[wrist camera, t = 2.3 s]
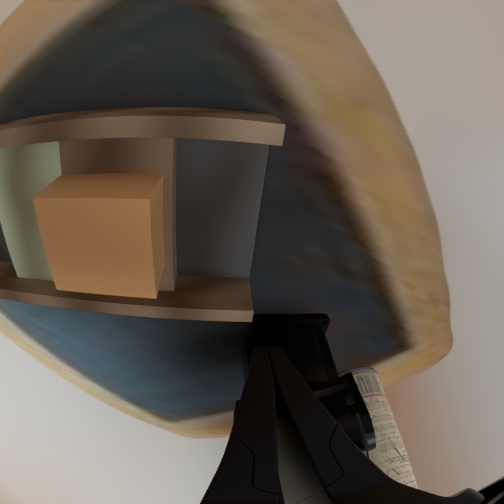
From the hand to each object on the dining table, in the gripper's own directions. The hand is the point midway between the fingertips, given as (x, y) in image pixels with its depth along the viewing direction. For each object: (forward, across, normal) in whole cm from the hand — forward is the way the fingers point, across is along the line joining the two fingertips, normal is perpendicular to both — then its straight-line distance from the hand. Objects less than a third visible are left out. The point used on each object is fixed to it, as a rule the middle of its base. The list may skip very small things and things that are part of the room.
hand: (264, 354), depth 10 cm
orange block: (+8, +8, 0) cm, 11 cm away
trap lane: (+10, +10, 0) cm, 15 cm away
